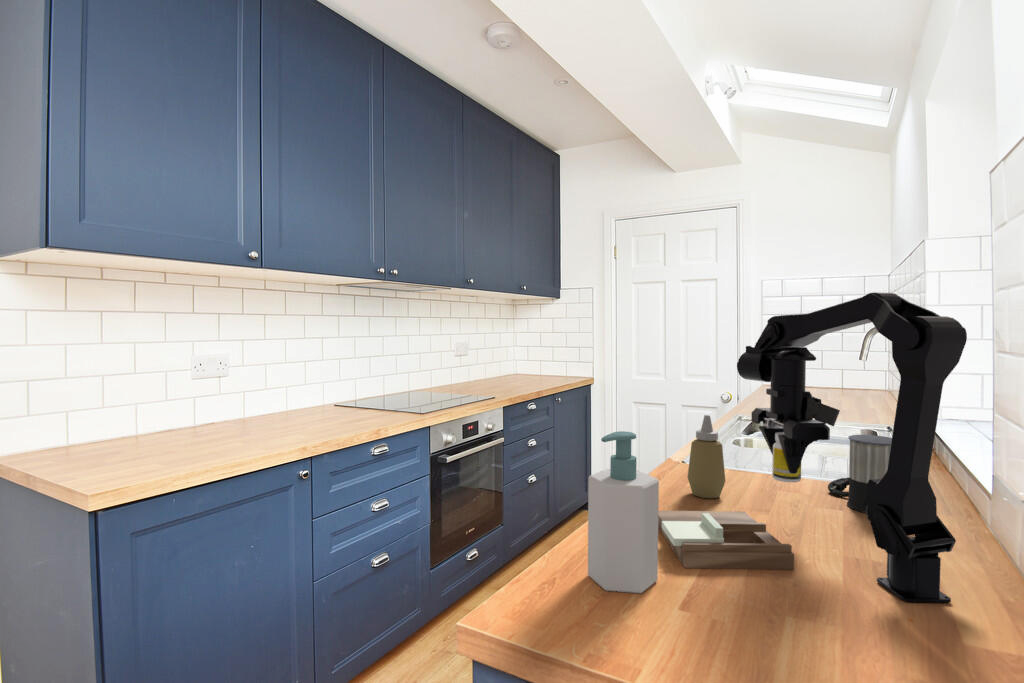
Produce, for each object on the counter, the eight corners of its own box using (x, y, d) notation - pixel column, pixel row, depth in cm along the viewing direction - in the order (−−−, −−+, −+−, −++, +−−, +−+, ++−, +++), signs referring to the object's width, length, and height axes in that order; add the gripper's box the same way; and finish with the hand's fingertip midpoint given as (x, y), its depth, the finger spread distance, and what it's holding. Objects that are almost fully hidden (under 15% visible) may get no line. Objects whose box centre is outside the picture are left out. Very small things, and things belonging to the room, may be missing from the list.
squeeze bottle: (733, 498, 124) (734, 417, 123) (703, 502, 121) (705, 419, 120) (707, 488, 131) (709, 411, 131) (679, 492, 128) (680, 413, 128)
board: (793, 569, 88) (794, 548, 88) (684, 568, 88) (685, 546, 88) (744, 523, 108) (744, 506, 108) (655, 522, 108) (655, 505, 108)
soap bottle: (579, 569, 88) (580, 429, 87) (629, 560, 91) (631, 425, 90) (613, 599, 78) (615, 442, 77) (668, 588, 81) (670, 437, 81)
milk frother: (887, 519, 111) (889, 445, 110) (806, 499, 124) (808, 432, 123) (915, 506, 119) (917, 436, 119) (837, 488, 132) (838, 425, 131)
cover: (723, 546, 90) (724, 529, 90) (673, 545, 90) (673, 528, 90) (707, 528, 98) (707, 512, 98) (661, 527, 98) (661, 511, 98)
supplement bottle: (804, 483, 100) (805, 437, 100) (775, 482, 101) (776, 435, 101) (796, 476, 105) (797, 431, 104) (769, 475, 106) (770, 430, 105)
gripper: (862, 390, 93) (861, 484, 93) (807, 380, 111) (806, 458, 112) (794, 390, 93) (793, 483, 94) (750, 379, 112) (749, 457, 112)
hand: (786, 469), depth 103 cm, fingers closed on supplement bottle, 5 cm apart
